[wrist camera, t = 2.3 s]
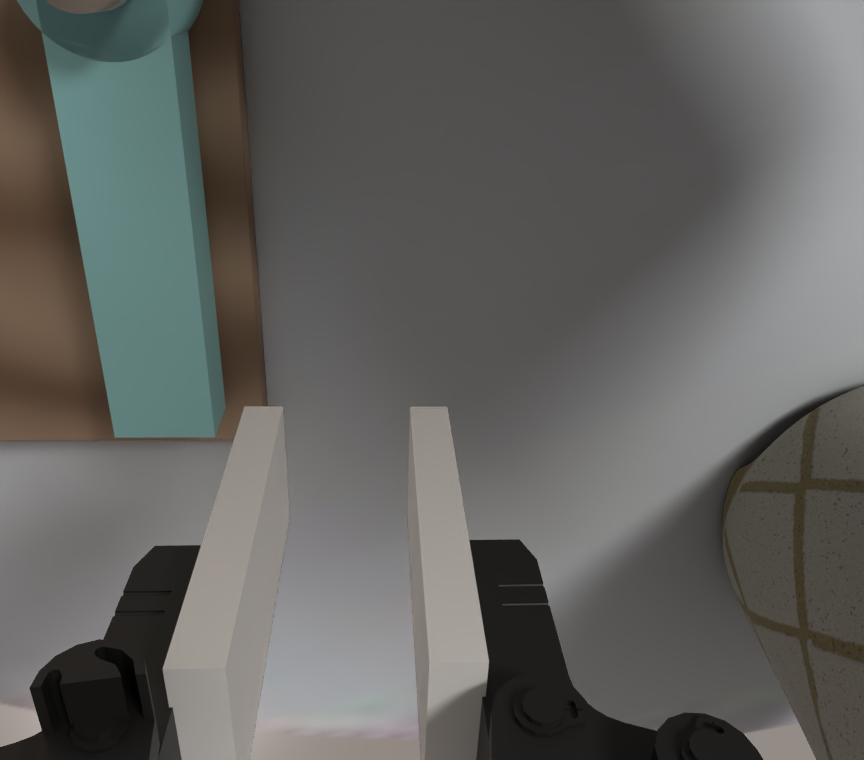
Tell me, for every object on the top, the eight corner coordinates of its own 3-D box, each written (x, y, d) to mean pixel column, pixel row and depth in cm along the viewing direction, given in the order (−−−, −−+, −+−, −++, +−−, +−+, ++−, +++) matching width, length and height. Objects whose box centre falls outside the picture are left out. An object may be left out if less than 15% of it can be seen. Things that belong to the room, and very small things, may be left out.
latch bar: (16, -140, 24) (-21, -151, 22) (197, -130, 25) (179, -141, 22) (113, 407, 33) (94, 437, 31) (244, 407, 34) (234, 437, 32)
